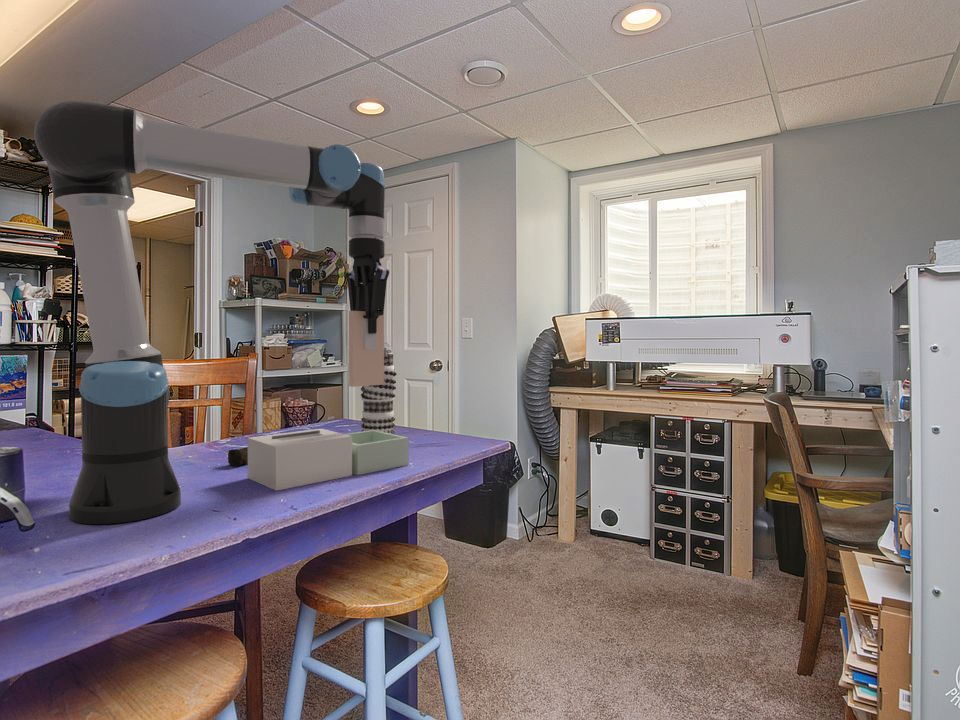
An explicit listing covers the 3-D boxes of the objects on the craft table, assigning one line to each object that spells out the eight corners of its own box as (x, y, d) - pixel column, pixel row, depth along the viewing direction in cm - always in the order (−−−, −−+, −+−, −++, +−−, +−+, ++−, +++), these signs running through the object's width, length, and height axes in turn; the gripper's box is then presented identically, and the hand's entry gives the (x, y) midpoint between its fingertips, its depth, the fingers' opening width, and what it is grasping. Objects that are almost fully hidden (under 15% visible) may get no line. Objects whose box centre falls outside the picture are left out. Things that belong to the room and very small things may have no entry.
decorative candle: (397, 441, 149) (398, 347, 148) (394, 448, 140) (395, 348, 139) (362, 441, 149) (363, 346, 147) (357, 448, 139) (357, 347, 138)
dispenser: (276, 490, 102) (275, 444, 101) (247, 478, 110) (247, 435, 110) (352, 475, 113) (352, 433, 113) (321, 465, 122) (321, 426, 121)
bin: (357, 475, 114) (357, 445, 113) (324, 464, 123) (324, 436, 122) (408, 464, 123) (408, 437, 123) (373, 455, 132) (373, 429, 132)
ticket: (352, 386, 119) (352, 310, 118) (348, 386, 120) (348, 310, 119) (383, 384, 124) (384, 312, 123) (379, 384, 125) (380, 312, 125)
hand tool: (239, 469, 119) (239, 447, 118) (226, 466, 121) (226, 445, 120) (306, 453, 135) (306, 433, 135) (294, 451, 137) (294, 432, 137)
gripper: (401, 237, 118) (401, 349, 119) (362, 244, 128) (362, 348, 129) (371, 232, 113) (371, 350, 114) (333, 240, 123) (333, 348, 124)
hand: (366, 348), depth 122 cm, fingers closed on ticket, 1 cm apart
